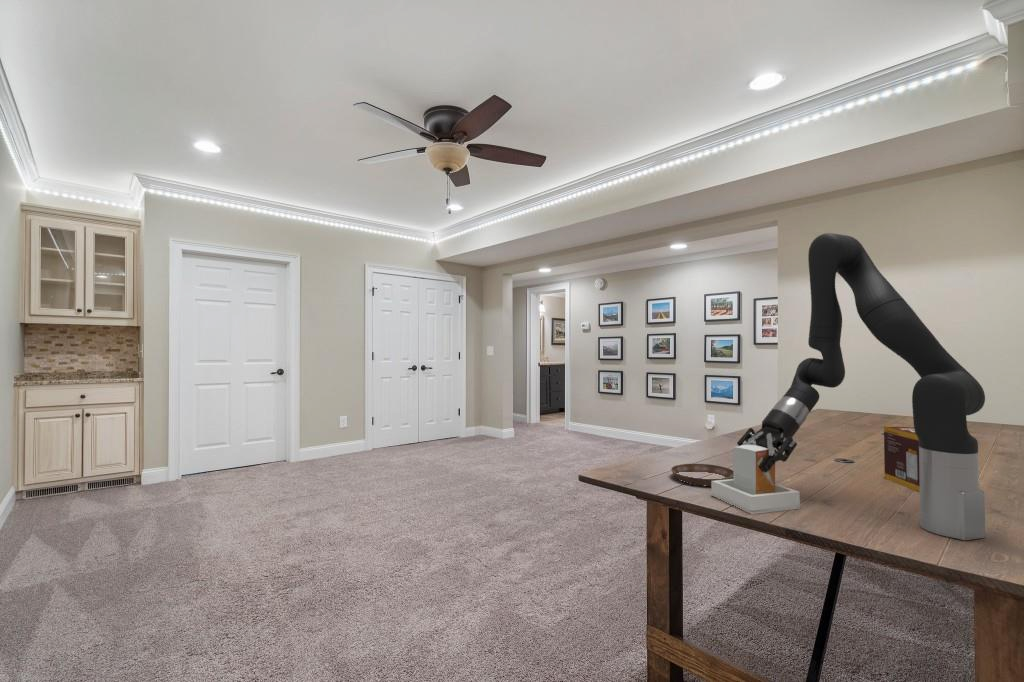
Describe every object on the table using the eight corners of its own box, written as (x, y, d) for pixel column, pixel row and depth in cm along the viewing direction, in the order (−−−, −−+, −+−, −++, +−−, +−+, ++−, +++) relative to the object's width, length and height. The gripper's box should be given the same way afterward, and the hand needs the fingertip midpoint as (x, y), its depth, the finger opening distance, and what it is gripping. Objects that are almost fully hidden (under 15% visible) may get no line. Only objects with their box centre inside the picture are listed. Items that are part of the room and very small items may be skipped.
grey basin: (799, 508, 115) (799, 491, 115) (751, 514, 111) (751, 496, 111) (755, 491, 128) (755, 476, 128) (711, 496, 124) (711, 480, 125)
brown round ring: (671, 486, 134) (671, 475, 134) (670, 471, 151) (670, 461, 151) (740, 491, 129) (740, 480, 129) (731, 475, 146) (731, 465, 146)
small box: (756, 505, 115) (755, 451, 115) (732, 498, 120) (732, 446, 121) (776, 499, 119) (775, 447, 119) (752, 493, 124) (752, 443, 125)
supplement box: (920, 478, 141) (920, 425, 141) (965, 494, 125) (964, 435, 126) (883, 477, 142) (882, 425, 142) (922, 493, 126) (921, 434, 127)
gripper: (755, 405, 129) (720, 450, 126) (800, 411, 115) (762, 462, 112) (772, 423, 130) (737, 468, 127) (818, 432, 116) (780, 483, 113)
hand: (749, 465), depth 119 cm, fingers open, 8 cm apart
